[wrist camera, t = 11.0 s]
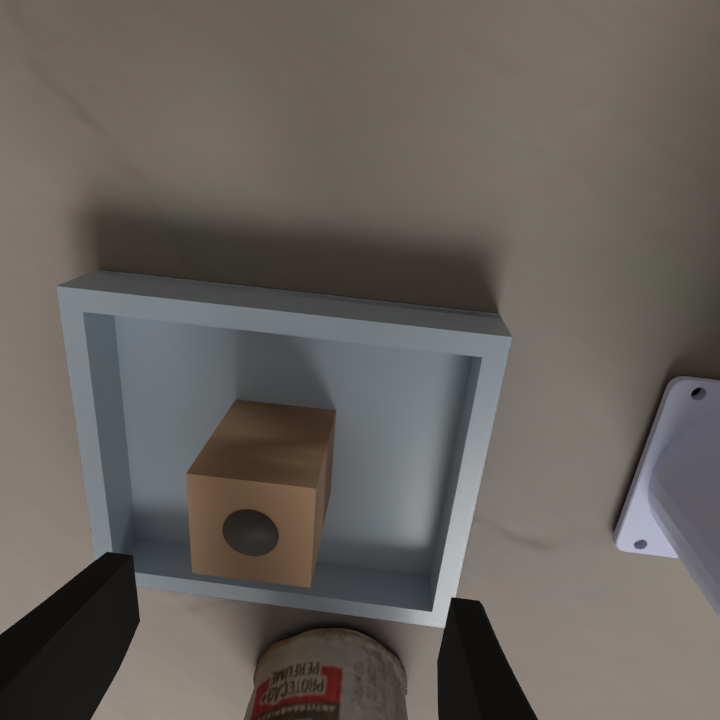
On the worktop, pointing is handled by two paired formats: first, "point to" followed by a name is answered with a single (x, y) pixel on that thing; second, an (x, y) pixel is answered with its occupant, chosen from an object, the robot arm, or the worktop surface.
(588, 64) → the worktop surface
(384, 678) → the spray can
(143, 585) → the slate tray
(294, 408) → the tan wooden block
